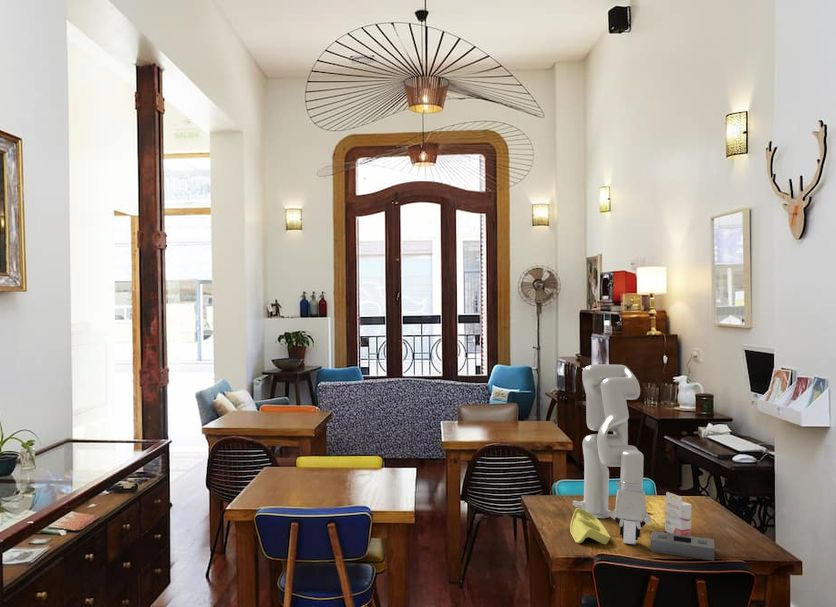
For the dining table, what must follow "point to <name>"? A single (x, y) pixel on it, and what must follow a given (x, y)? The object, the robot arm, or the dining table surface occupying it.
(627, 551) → the dining table surface
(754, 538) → the dining table surface
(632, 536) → the steel peg
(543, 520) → the dining table surface
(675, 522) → the ink cartridge box
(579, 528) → the plastic component
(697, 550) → the grey slotted block
